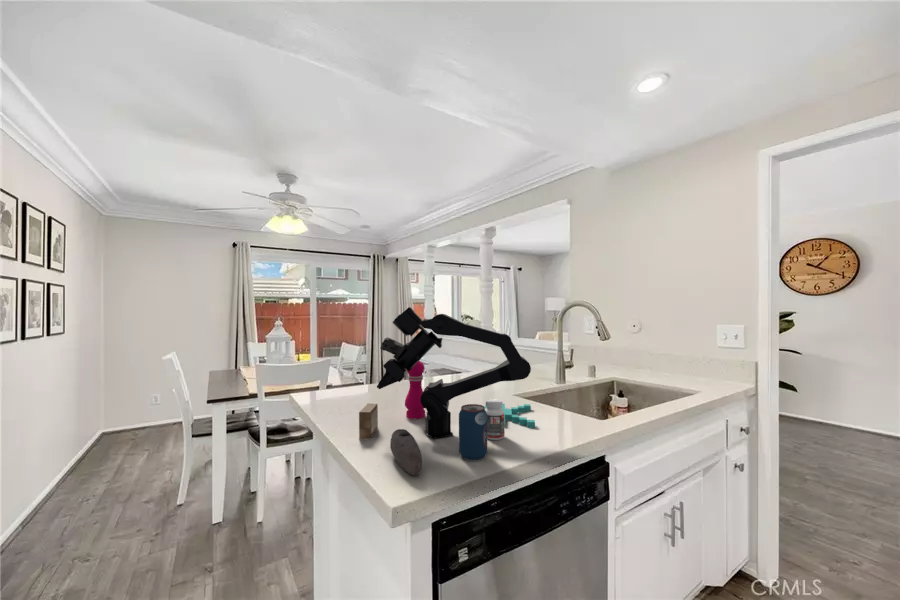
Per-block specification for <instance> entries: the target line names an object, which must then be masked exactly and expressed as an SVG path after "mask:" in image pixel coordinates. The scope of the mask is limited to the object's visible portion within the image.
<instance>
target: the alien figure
mask: <svg viewBox="0 0 900 600" xmlns="http://www.w3.org/2000/svg"><path fill="white" fill-rule="evenodd" d="M502 404H503V406H502V409H503V410H504V428H505V427H506V421H511V423H514V424H515V423H516V424H519V426H526V427H527V428H529V429H536V421H535V419H528V418H527V417H526V416H525V417H521V416H520V415H519V414H523V413H524V414H525V412H531V411H532V410H531V409H532V405H531V404H530V403H523V405H517V406H515V407H514V406H511V407H510V408H506V406H505V405H506V403H503V402H502ZM483 406H484V407H485V409H486V408H487V407H486V404H485V405H483Z"/></svg>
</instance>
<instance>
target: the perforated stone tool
mask: <svg viewBox="0 0 900 600" xmlns="http://www.w3.org/2000/svg"><path fill="white" fill-rule="evenodd" d="M390 450H391V454H392V456H393V458H394V459H395V461H396V463H397V464H398V465H399V466H400V467H401V468H402V469H403V470H404V471H405V472H406V473H408V474H409V475H411V476H418V475H419V474H420V473H421V471H422V467H423V456H422V455H423V454H422V451H421V449H420V446H419V444H418V442H417V441H416V439H415V437H414V436H413V435H412V434H411V432H409V431H408V430H407V429H406V428H405V429H403V428H398V429H396V430H394V431H393V432H392V434H391V438H390Z"/></svg>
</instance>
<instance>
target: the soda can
mask: <svg viewBox="0 0 900 600" xmlns="http://www.w3.org/2000/svg"><path fill="white" fill-rule="evenodd" d="M484 406H485V405H481V404H479V403H478V404H476V403H469V404H464V405H461V407H460V410H459V413H458V452H459V454H460V456H461V458H462V459H463V460H466V461H469V462H479V461H481V460H484V459H485V457H486V455H488V439H487V413H486V411H485V407H484ZM483 458H484V459H483ZM478 460H479V461H478Z"/></svg>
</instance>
